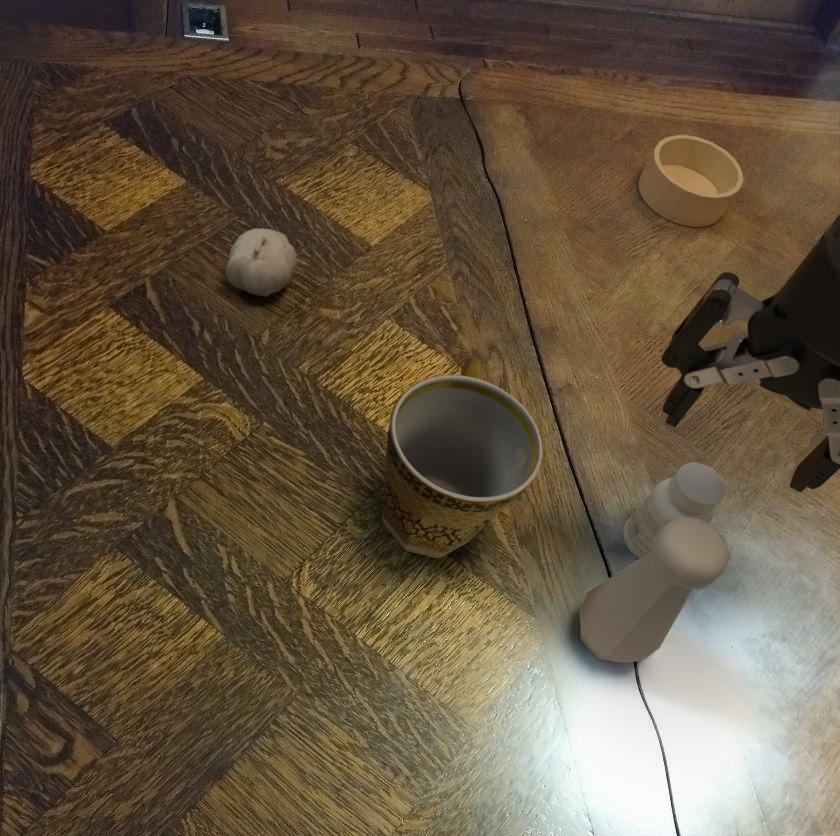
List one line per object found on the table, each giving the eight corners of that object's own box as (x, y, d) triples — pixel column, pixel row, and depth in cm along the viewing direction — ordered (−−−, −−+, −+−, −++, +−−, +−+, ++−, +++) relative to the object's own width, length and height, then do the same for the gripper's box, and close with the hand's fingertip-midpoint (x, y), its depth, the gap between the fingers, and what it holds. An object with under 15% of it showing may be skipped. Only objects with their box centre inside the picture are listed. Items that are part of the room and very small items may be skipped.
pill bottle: (655, 577, 71) (709, 521, 65) (610, 535, 73) (658, 476, 66) (690, 546, 73) (745, 489, 67) (645, 506, 75) (695, 445, 68)
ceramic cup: (488, 593, 68) (539, 517, 60) (348, 560, 68) (380, 479, 60) (501, 447, 75) (549, 361, 67) (374, 417, 75) (406, 326, 67)
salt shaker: (552, 612, 69) (634, 512, 57) (618, 588, 70) (710, 488, 59) (595, 686, 66) (690, 597, 55) (663, 660, 68) (767, 568, 57)
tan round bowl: (703, 165, 98) (721, 134, 95) (738, 226, 94) (758, 197, 91) (625, 165, 96) (641, 134, 93) (657, 228, 92) (674, 198, 89)
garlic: (252, 319, 78) (260, 271, 74) (209, 278, 80) (214, 228, 75) (307, 288, 81) (318, 240, 76) (264, 249, 82) (272, 199, 78)
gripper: (1050, 280, 50) (852, 463, 64) (788, 157, 52) (651, 359, 66) (1031, 372, 46) (824, 545, 60) (749, 235, 48) (613, 433, 62)
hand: (734, 448), depth 63 cm, fingers open, 8 cm apart
